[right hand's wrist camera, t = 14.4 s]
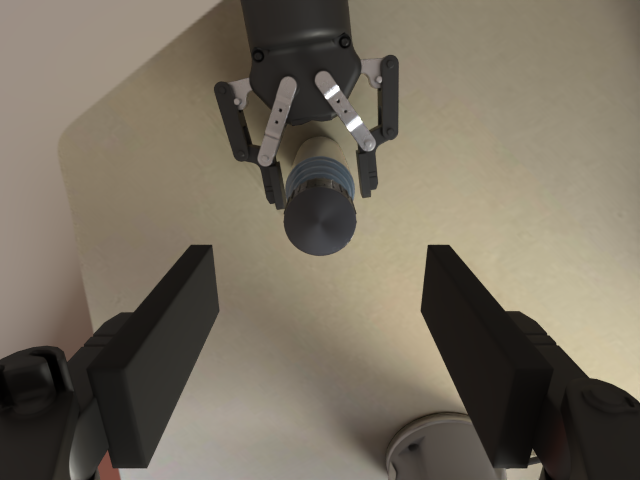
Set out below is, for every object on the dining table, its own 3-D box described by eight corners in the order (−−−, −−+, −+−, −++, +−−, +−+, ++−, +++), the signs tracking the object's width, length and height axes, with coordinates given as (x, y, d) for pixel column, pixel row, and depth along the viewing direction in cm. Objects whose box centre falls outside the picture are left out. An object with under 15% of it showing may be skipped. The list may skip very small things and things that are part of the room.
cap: (272, 214, 22) (267, 227, 20) (315, 162, 21) (314, 170, 19) (324, 254, 23) (324, 270, 21) (367, 205, 22) (372, 217, 20)
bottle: (286, 164, 38) (257, 226, 21) (316, 125, 37) (313, 156, 19) (323, 194, 39) (325, 277, 22) (354, 157, 38) (383, 214, 20)
